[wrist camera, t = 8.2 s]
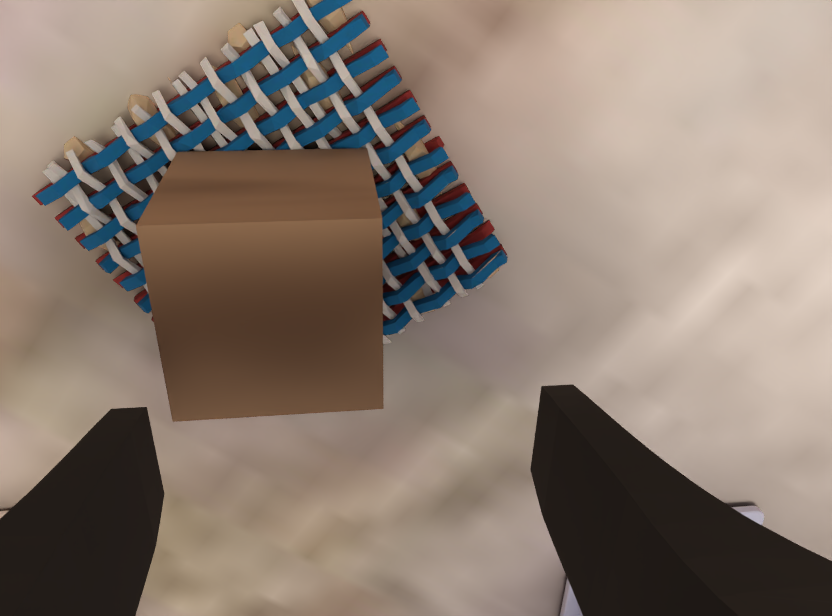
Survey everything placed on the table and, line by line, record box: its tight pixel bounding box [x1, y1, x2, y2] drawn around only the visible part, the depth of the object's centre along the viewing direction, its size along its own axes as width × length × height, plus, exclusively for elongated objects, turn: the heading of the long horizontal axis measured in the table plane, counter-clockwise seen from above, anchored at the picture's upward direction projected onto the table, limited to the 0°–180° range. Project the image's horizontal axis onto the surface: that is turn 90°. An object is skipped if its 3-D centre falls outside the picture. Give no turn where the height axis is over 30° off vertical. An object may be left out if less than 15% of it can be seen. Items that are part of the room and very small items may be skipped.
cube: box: [136, 148, 383, 422], centre depth 18 cm, size 5×5×5 cm
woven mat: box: [32, 0, 507, 344], centre depth 21 cm, size 10×11×2 cm
